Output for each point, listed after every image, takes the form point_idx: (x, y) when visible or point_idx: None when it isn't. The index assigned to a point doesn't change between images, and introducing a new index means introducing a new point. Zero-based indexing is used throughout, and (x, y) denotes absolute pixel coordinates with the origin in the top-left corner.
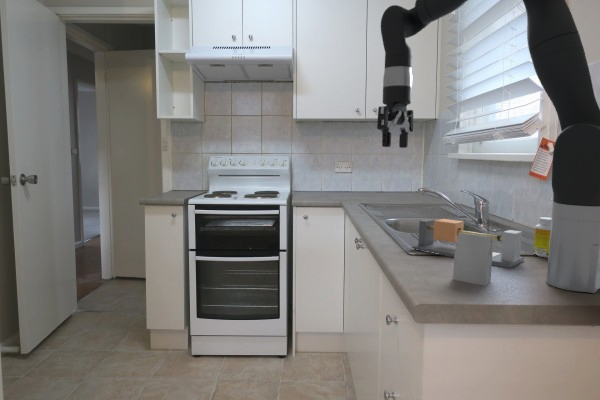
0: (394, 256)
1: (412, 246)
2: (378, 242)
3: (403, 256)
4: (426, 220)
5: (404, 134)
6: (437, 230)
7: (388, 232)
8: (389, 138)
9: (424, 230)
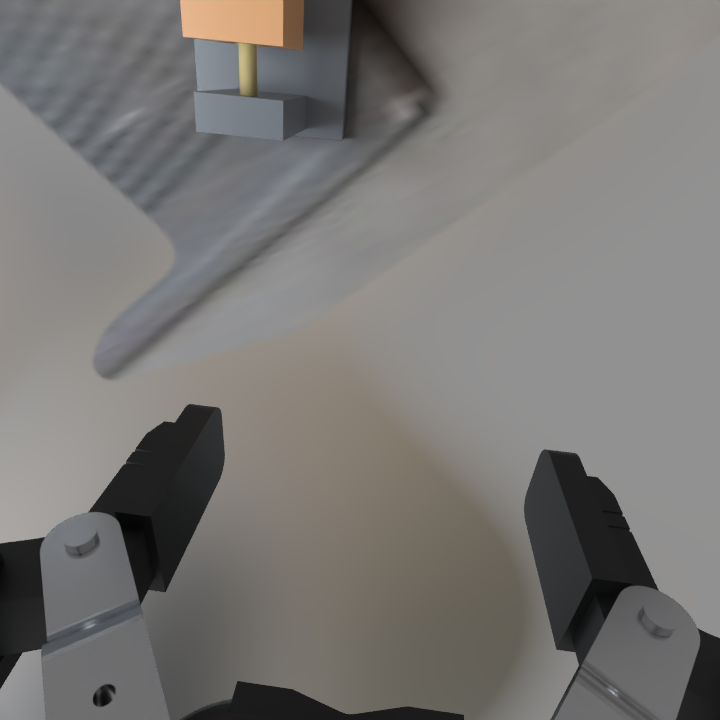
0: (495, 140)
1: (342, 138)
2: (318, 293)
3: (474, 112)
4: (246, 116)
5: (158, 537)
6: (293, 26)
7: (136, 344)
8: (601, 517)
9: (292, 105)
